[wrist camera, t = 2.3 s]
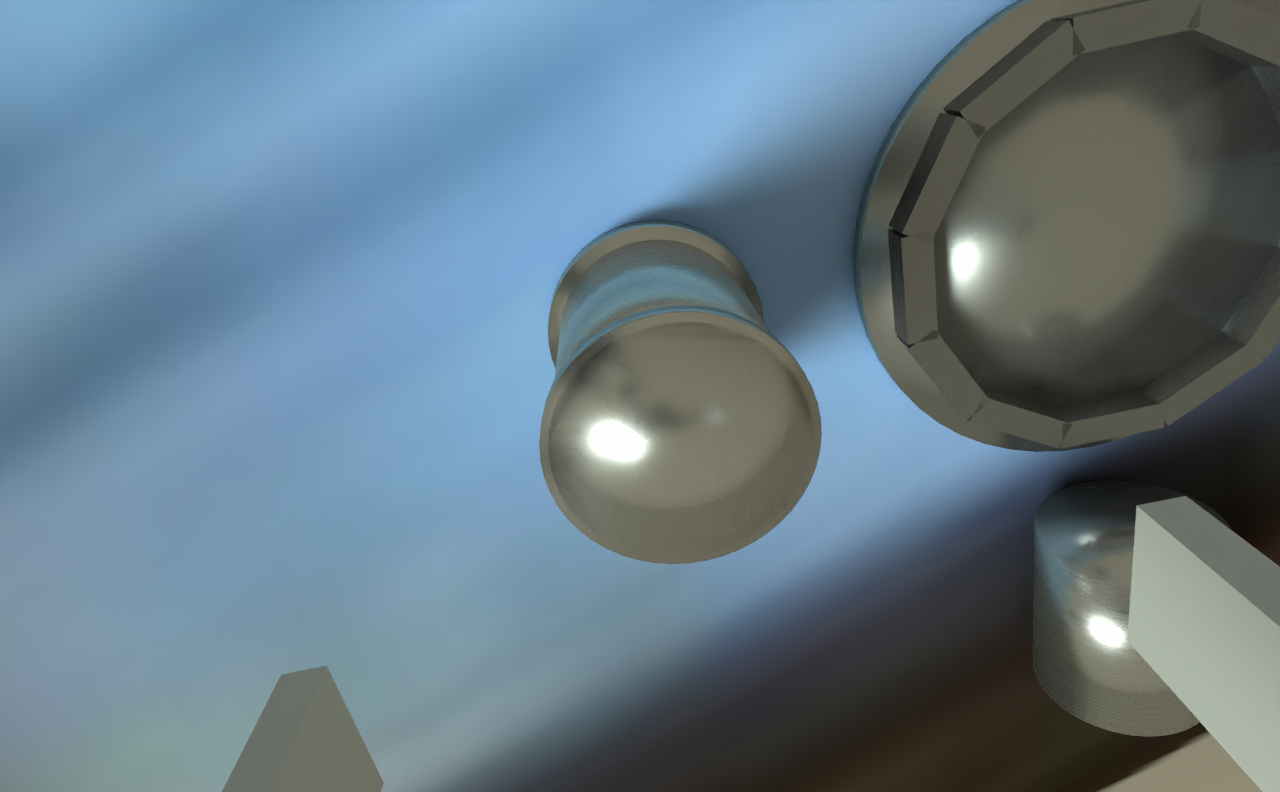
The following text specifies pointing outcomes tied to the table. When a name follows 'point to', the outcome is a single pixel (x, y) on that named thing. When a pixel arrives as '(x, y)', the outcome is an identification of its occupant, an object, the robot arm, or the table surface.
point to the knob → (671, 399)
